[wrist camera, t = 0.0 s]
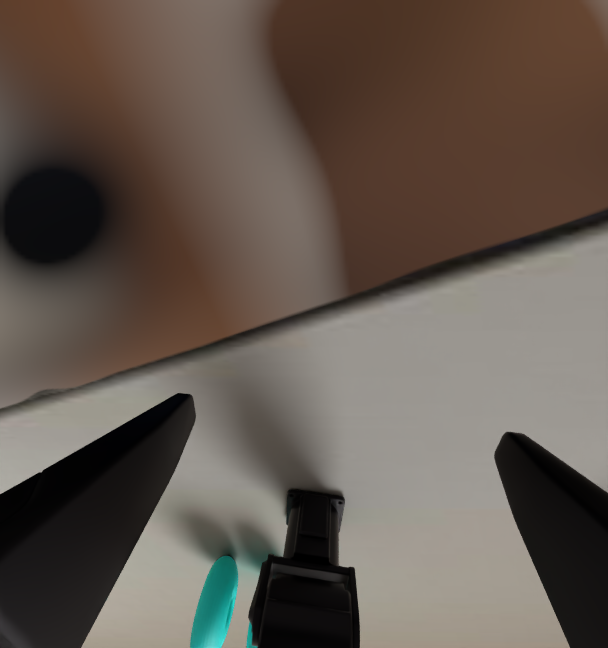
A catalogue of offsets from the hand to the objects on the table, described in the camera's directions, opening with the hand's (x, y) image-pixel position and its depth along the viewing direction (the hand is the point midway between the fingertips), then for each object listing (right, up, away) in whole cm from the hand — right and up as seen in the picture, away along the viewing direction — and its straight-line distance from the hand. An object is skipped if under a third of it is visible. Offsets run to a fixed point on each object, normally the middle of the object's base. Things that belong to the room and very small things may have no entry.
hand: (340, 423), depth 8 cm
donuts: (-9, -32, +33) cm, 47 cm away
